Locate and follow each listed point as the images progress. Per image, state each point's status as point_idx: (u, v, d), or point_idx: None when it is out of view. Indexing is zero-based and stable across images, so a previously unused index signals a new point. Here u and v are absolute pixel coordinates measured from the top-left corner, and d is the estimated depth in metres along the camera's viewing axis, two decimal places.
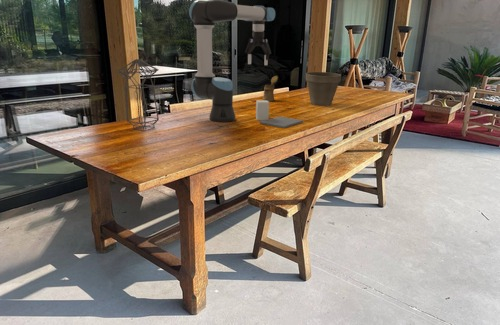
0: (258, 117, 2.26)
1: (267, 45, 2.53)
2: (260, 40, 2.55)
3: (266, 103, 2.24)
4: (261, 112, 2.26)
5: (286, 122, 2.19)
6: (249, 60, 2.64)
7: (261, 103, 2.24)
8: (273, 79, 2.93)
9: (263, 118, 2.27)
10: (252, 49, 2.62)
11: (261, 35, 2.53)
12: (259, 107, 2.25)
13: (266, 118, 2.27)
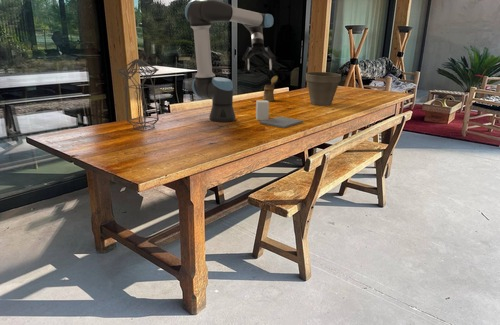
0: (258, 117, 2.26)
1: (271, 52, 2.43)
2: (262, 47, 2.43)
3: (266, 103, 2.24)
4: (261, 112, 2.26)
5: (286, 122, 2.19)
6: None
7: (261, 103, 2.24)
8: (273, 79, 2.93)
9: (263, 118, 2.27)
10: (250, 56, 2.41)
11: (263, 43, 2.44)
12: (259, 107, 2.25)
13: (266, 118, 2.27)
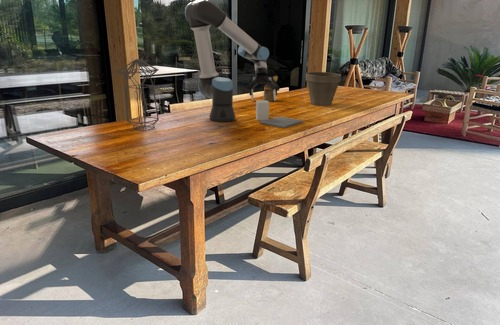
0: (258, 117, 2.26)
1: (275, 82, 2.38)
2: (266, 77, 2.38)
3: (266, 103, 2.24)
4: (261, 112, 2.26)
5: (286, 122, 2.19)
6: None
7: (261, 103, 2.24)
8: None
9: (263, 118, 2.27)
10: (254, 86, 2.36)
11: (267, 73, 2.39)
12: (259, 107, 2.25)
13: (266, 118, 2.27)
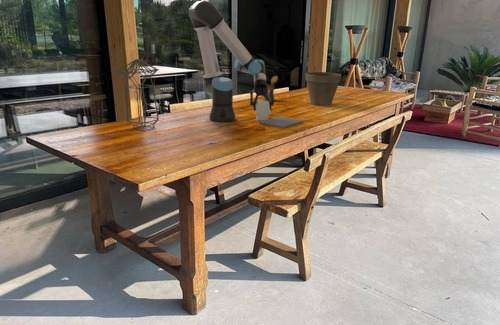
0: (258, 117, 2.26)
1: None
2: (265, 88, 2.33)
3: (266, 103, 2.24)
4: (261, 112, 2.26)
5: (286, 122, 2.19)
6: None
7: (261, 103, 2.24)
8: (273, 79, 2.93)
9: (263, 118, 2.27)
10: (256, 100, 2.31)
11: None
12: (259, 107, 2.25)
13: (266, 118, 2.27)
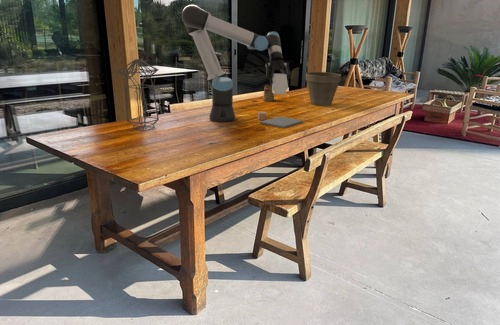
0: (275, 91, 2.17)
1: (289, 69, 2.22)
2: (281, 61, 2.23)
3: (284, 76, 2.14)
4: (278, 85, 2.16)
5: (286, 122, 2.19)
6: None
7: (278, 76, 2.14)
8: None
9: (280, 92, 2.17)
10: None
11: None
12: (276, 80, 2.15)
13: (283, 92, 2.17)
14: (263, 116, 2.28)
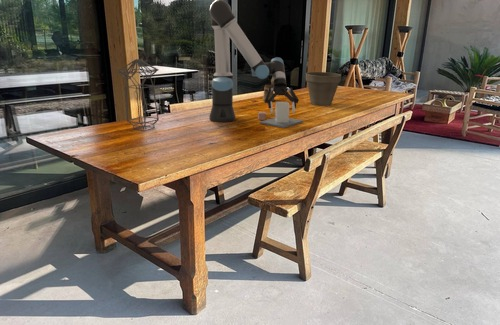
0: (278, 119, 2.18)
1: None
2: (285, 88, 2.24)
3: (286, 104, 2.16)
4: (281, 114, 2.17)
5: (286, 122, 2.19)
6: None
7: (281, 104, 2.16)
8: None
9: (283, 120, 2.18)
10: (273, 98, 2.22)
11: None
12: (279, 109, 2.16)
13: (286, 120, 2.19)
14: (263, 116, 2.28)
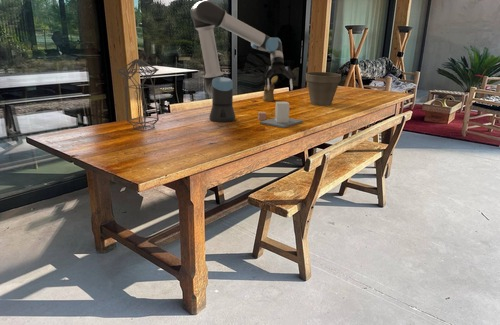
0: (278, 119, 2.18)
1: (291, 71, 2.31)
2: (282, 66, 2.31)
3: (286, 104, 2.16)
4: (281, 114, 2.17)
5: (286, 122, 2.19)
6: None
7: (281, 104, 2.16)
8: (273, 79, 2.93)
9: (283, 120, 2.18)
10: (270, 76, 2.29)
11: (283, 62, 2.33)
12: (279, 109, 2.16)
13: (286, 120, 2.19)
14: (263, 116, 2.28)
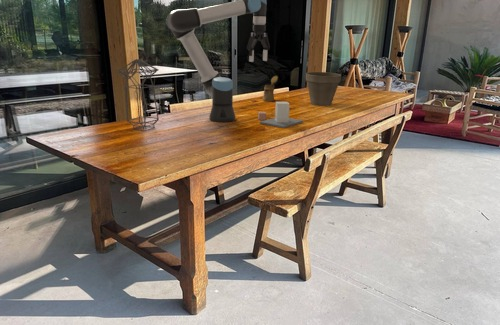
0: (278, 119, 2.18)
1: None
2: (263, 34, 2.35)
3: (286, 104, 2.16)
4: (281, 114, 2.17)
5: (286, 122, 2.19)
6: None
7: (281, 104, 2.16)
8: (273, 79, 2.93)
9: (283, 120, 2.18)
10: None
11: None
12: (279, 109, 2.16)
13: (286, 120, 2.19)
14: (263, 116, 2.28)
